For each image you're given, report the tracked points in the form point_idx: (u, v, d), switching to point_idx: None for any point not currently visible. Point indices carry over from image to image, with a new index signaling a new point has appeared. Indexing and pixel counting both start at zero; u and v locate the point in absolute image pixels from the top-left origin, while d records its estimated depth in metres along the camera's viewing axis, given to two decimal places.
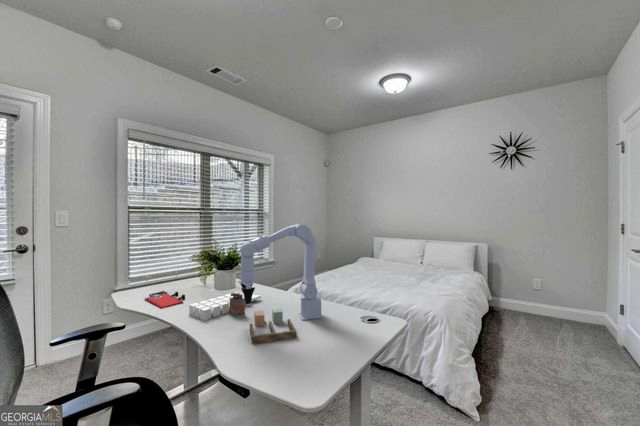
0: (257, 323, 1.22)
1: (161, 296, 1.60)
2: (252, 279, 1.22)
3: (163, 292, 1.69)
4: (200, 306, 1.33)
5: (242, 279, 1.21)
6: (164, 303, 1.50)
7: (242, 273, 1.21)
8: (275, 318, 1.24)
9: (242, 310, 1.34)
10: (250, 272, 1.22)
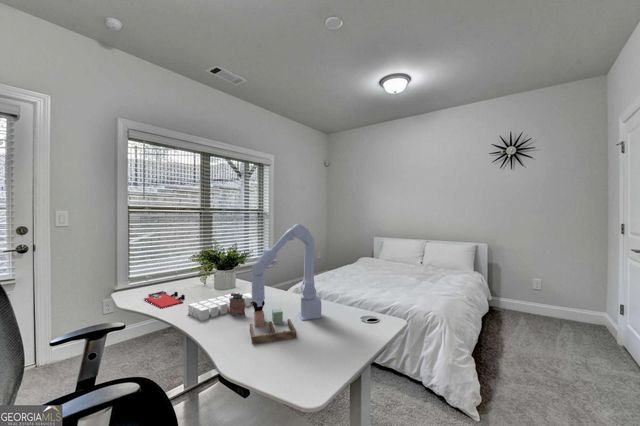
0: (257, 323, 1.21)
1: (160, 296, 1.60)
2: (263, 296, 1.27)
3: (162, 292, 1.69)
4: (198, 306, 1.33)
5: (253, 296, 1.26)
6: (164, 303, 1.49)
7: (253, 291, 1.26)
8: (275, 318, 1.24)
9: (242, 310, 1.34)
10: (261, 290, 1.26)
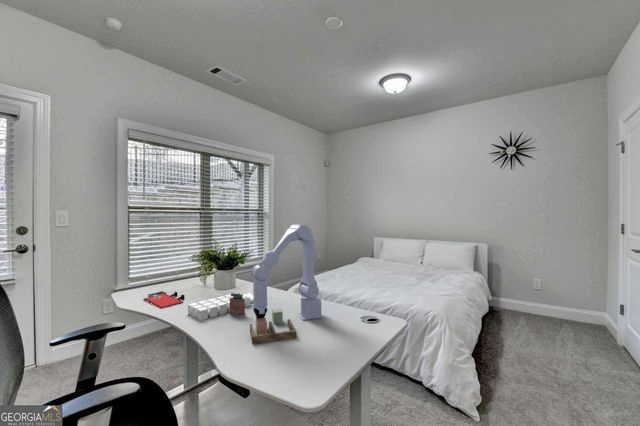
0: (259, 332, 1.12)
1: (160, 296, 1.60)
2: (265, 303, 1.19)
3: (162, 292, 1.69)
4: (198, 306, 1.33)
5: (255, 303, 1.18)
6: (164, 303, 1.49)
7: (255, 297, 1.18)
8: (275, 318, 1.24)
9: (242, 310, 1.34)
10: (263, 296, 1.18)
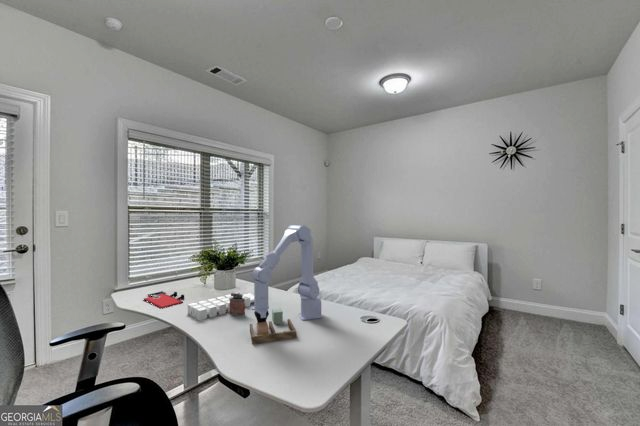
0: None
1: (160, 296, 1.60)
2: (266, 306, 1.15)
3: (161, 292, 1.69)
4: (197, 306, 1.33)
5: (256, 306, 1.13)
6: (164, 303, 1.49)
7: (256, 300, 1.13)
8: (275, 318, 1.24)
9: (242, 310, 1.34)
10: (264, 299, 1.14)
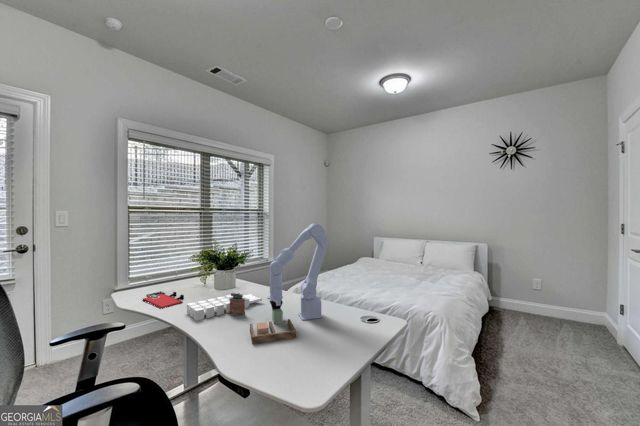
0: None
1: (159, 296, 1.60)
2: (281, 296, 1.29)
3: (160, 292, 1.68)
4: (195, 306, 1.33)
5: (271, 296, 1.27)
6: (164, 303, 1.49)
7: (271, 290, 1.27)
8: (275, 318, 1.24)
9: (242, 310, 1.34)
10: (279, 289, 1.28)
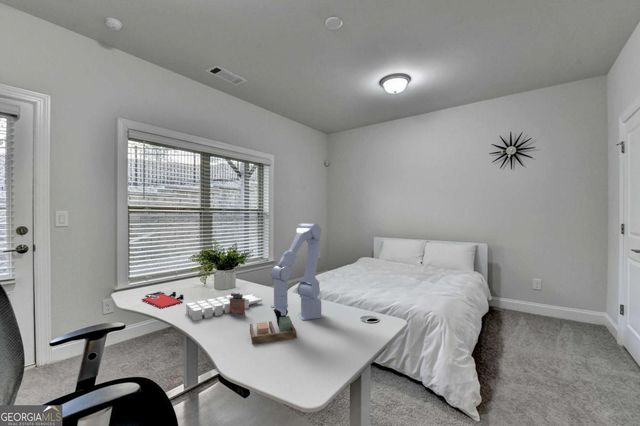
0: None
1: (158, 296, 1.60)
2: (286, 304, 1.17)
3: (159, 292, 1.68)
4: (194, 306, 1.33)
5: (276, 304, 1.16)
6: (163, 303, 1.49)
7: (276, 298, 1.16)
8: (283, 328, 1.13)
9: (242, 310, 1.34)
10: (284, 297, 1.16)
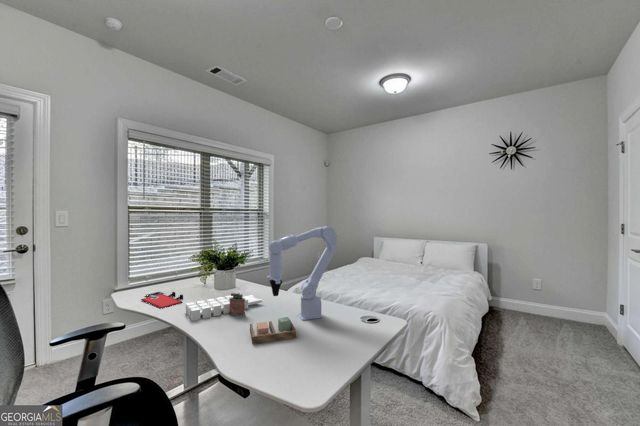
0: None
1: (158, 297, 1.60)
2: (280, 275, 1.29)
3: (159, 293, 1.68)
4: (193, 306, 1.34)
5: (271, 275, 1.28)
6: (163, 303, 1.49)
7: (271, 269, 1.28)
8: (283, 328, 1.14)
9: (242, 310, 1.34)
10: (278, 268, 1.28)
